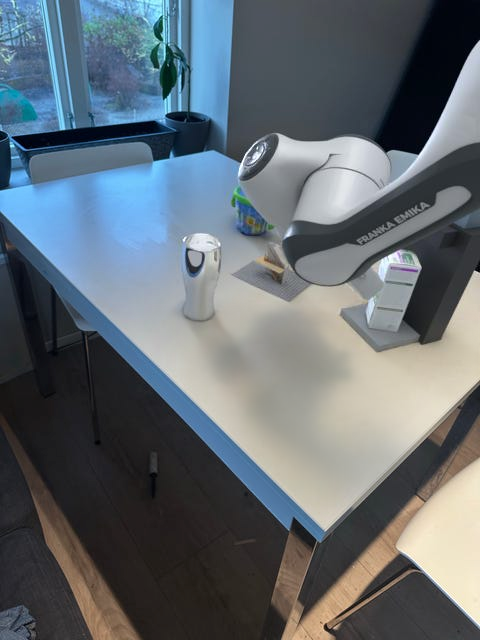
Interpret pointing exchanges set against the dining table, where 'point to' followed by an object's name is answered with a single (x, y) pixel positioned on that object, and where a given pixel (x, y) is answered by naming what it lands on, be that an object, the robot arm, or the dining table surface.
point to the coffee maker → (429, 286)
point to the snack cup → (247, 215)
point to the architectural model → (273, 274)
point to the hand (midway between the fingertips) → (351, 276)
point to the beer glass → (200, 274)
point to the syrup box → (393, 290)
